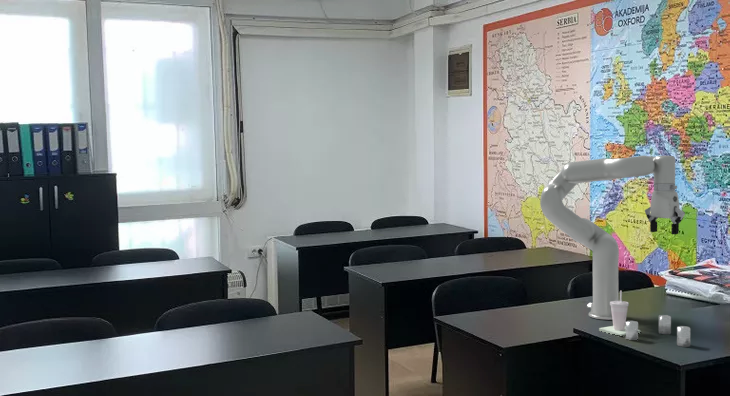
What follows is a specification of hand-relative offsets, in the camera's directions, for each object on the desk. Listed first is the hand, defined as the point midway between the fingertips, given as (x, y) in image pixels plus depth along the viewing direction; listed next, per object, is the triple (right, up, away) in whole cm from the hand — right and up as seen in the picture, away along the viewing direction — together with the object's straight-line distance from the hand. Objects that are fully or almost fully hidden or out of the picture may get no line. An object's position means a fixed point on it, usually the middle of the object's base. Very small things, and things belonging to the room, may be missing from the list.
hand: (664, 233), depth 271 cm
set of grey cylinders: (-12, -35, -29) cm, 47 cm away
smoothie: (-23, -34, -16) cm, 44 cm away
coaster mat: (-23, -35, -16) cm, 44 cm away
